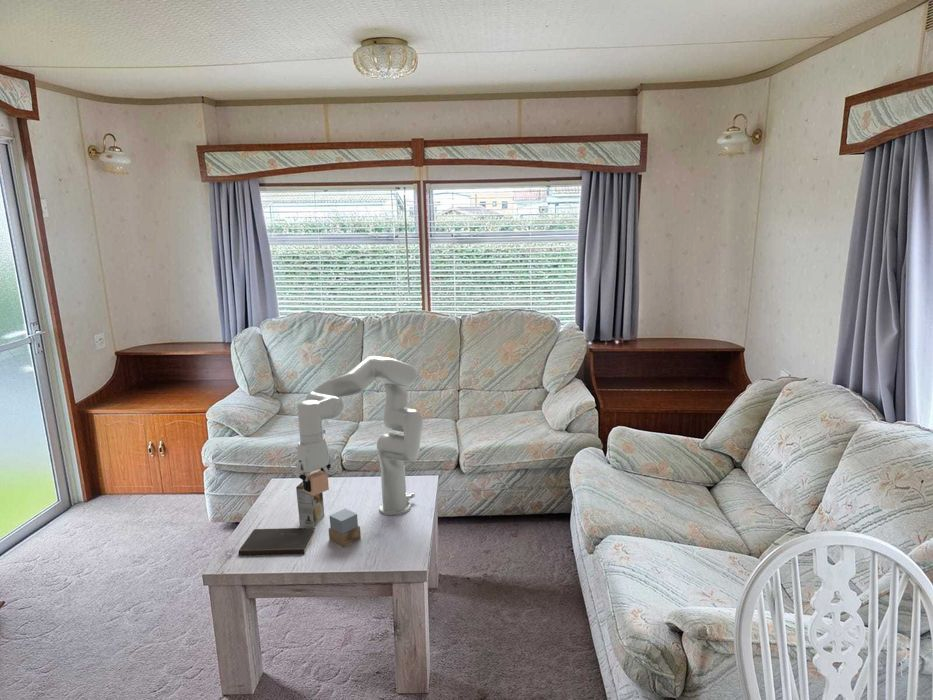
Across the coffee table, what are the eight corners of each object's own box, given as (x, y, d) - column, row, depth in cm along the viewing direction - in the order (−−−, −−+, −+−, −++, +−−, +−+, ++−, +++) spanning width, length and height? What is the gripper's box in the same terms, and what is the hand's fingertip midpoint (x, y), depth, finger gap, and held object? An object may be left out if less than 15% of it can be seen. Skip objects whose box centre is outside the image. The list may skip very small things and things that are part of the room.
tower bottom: (347, 532, 222) (346, 520, 222) (360, 539, 217) (359, 526, 216) (329, 541, 217) (328, 528, 216) (343, 548, 211) (342, 535, 210)
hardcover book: (254, 534, 223) (254, 529, 223) (315, 533, 223) (315, 527, 223) (238, 557, 208) (238, 551, 207) (304, 555, 208) (303, 549, 207)
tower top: (346, 520, 221) (345, 508, 220) (357, 526, 216) (357, 513, 215) (330, 528, 216) (329, 515, 215) (342, 534, 211) (341, 521, 210)
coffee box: (309, 514, 237) (306, 477, 234) (324, 516, 236) (321, 478, 232) (299, 525, 228) (295, 486, 225) (314, 527, 227) (311, 487, 224)
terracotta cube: (318, 485, 206) (317, 468, 205) (328, 489, 202) (327, 473, 201) (303, 491, 202) (302, 474, 201) (313, 495, 198) (312, 478, 197)
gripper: (326, 428, 207) (330, 476, 211) (282, 442, 194) (287, 493, 198) (339, 432, 202) (343, 481, 206) (295, 447, 190) (300, 499, 193)
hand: (315, 487), depth 202 cm, fingers closed on terracotta cube, 6 cm apart
